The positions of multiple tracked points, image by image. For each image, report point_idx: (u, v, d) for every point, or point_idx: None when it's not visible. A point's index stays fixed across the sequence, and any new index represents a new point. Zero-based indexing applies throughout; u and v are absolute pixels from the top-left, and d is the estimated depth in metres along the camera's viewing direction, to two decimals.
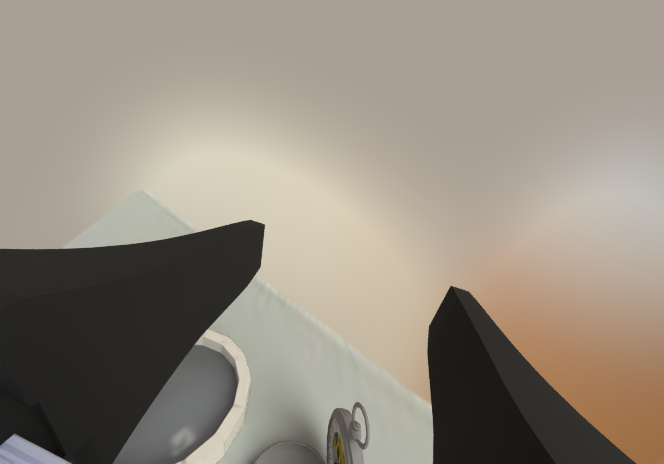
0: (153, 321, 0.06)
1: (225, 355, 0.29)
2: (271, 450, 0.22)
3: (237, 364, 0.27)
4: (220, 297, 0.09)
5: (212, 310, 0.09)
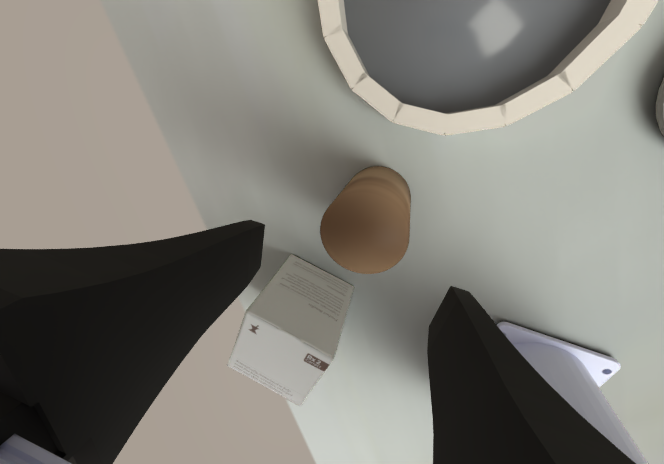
0: (153, 321, 0.06)
1: None
2: None
3: None
4: (220, 297, 0.09)
5: (212, 310, 0.09)
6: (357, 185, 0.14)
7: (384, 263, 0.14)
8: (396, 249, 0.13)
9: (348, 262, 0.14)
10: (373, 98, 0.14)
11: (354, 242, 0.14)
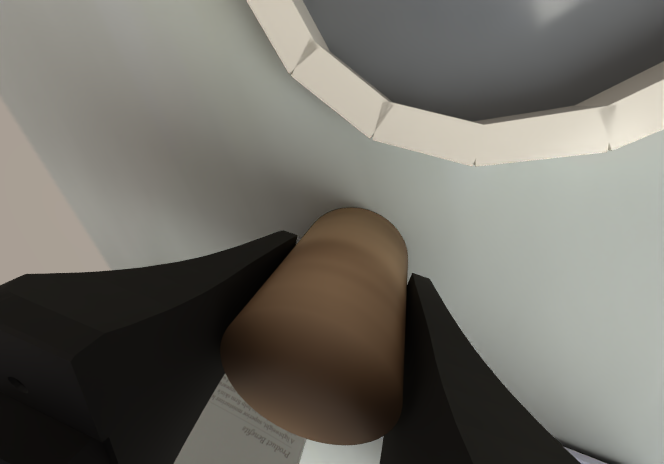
0: (204, 342, 0.06)
1: None
2: None
3: None
4: None
5: None
6: (297, 269, 0.07)
7: (351, 434, 0.07)
8: (375, 417, 0.06)
9: (282, 419, 0.07)
10: (333, 92, 0.07)
11: (288, 391, 0.07)
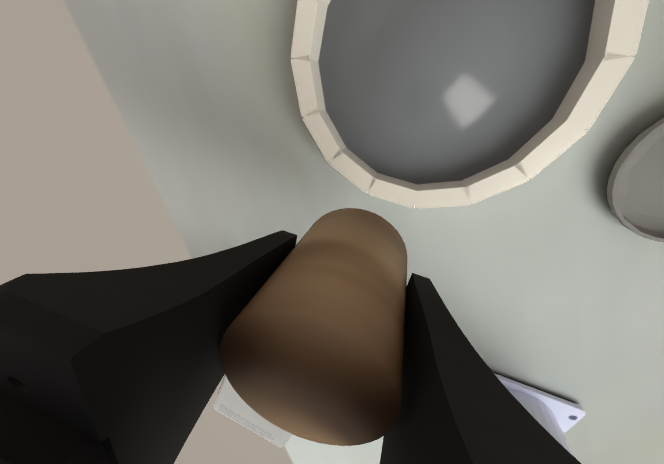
0: (204, 342, 0.06)
1: None
2: None
3: None
4: None
5: None
6: (297, 271, 0.07)
7: (350, 434, 0.07)
8: (374, 418, 0.06)
9: (281, 419, 0.07)
10: (348, 172, 0.15)
11: (287, 392, 0.07)
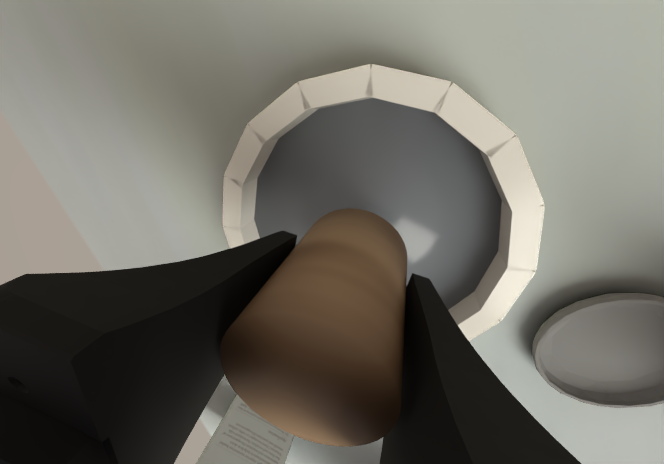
0: (203, 342, 0.06)
1: (447, 123, 0.10)
2: (587, 306, 0.12)
3: (499, 172, 0.10)
4: None
5: None
6: (297, 272, 0.07)
7: (350, 435, 0.07)
8: (373, 420, 0.06)
9: (281, 420, 0.07)
10: None
11: (287, 393, 0.07)
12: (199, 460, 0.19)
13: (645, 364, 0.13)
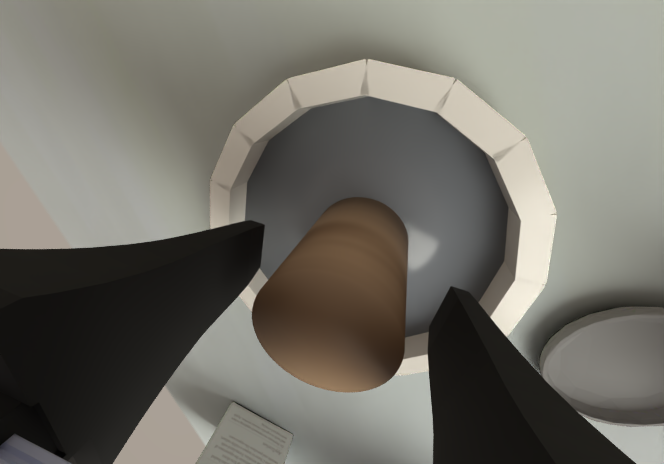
0: (153, 321, 0.06)
1: (450, 124, 0.10)
2: (600, 320, 0.11)
3: (507, 177, 0.09)
4: (220, 297, 0.09)
5: (212, 310, 0.09)
6: (316, 244, 0.08)
7: (361, 381, 0.08)
8: (381, 364, 0.07)
9: (302, 371, 0.08)
10: None
11: (308, 345, 0.08)
12: None
13: (660, 380, 0.12)
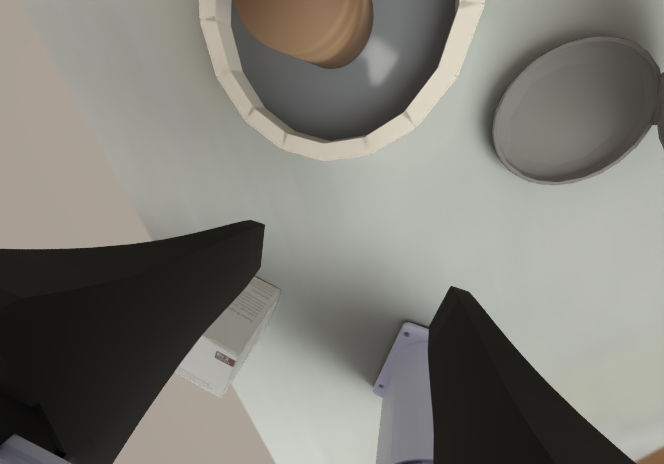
0: (153, 321, 0.06)
1: None
2: (538, 62, 0.13)
3: None
4: (220, 297, 0.09)
5: (212, 310, 0.09)
6: None
7: (319, 23, 0.10)
8: None
9: (271, 34, 0.10)
10: (263, 128, 0.16)
11: None
12: None
13: (596, 135, 0.14)
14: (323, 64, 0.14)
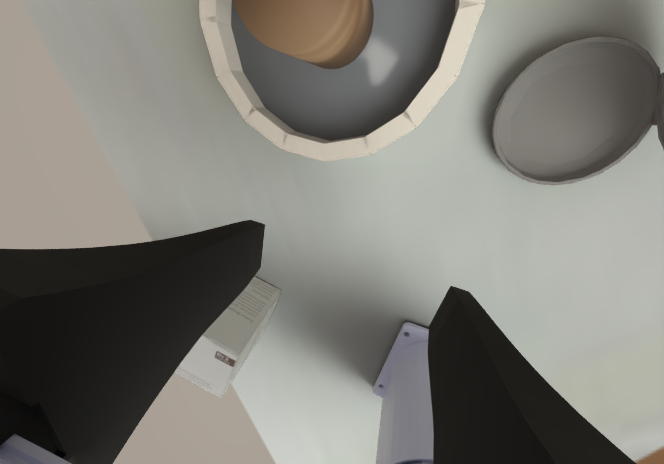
0: (153, 321, 0.06)
1: None
2: (538, 62, 0.13)
3: None
4: (220, 297, 0.09)
5: (212, 310, 0.09)
6: None
7: (319, 23, 0.10)
8: None
9: (271, 34, 0.10)
10: (263, 128, 0.16)
11: None
12: None
13: (596, 135, 0.14)
14: (323, 64, 0.14)
